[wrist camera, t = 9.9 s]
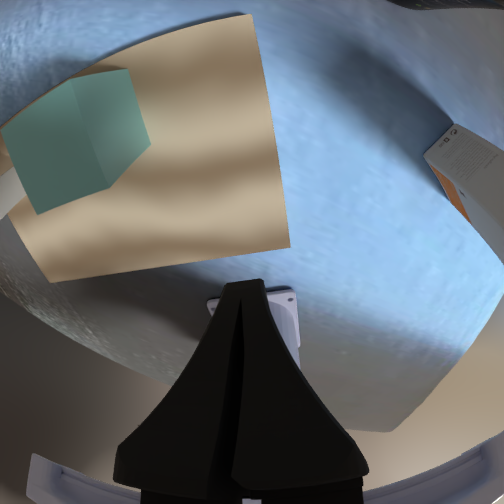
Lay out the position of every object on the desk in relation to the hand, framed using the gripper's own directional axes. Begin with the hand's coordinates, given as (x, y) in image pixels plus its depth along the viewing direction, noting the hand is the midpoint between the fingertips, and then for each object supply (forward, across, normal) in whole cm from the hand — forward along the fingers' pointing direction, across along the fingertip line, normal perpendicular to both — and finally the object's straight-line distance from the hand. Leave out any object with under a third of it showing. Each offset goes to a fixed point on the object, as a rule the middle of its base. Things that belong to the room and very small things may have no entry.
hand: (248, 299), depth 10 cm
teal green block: (+9, +8, -7) cm, 14 cm away
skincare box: (+10, -16, 0) cm, 19 cm away
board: (+10, +10, -3) cm, 14 cm away
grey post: (+9, +18, -6) cm, 21 cm away
